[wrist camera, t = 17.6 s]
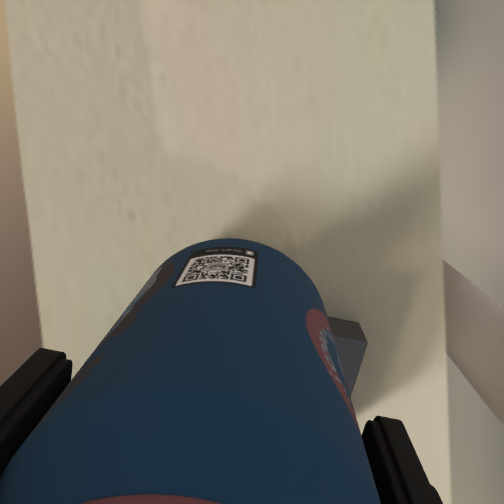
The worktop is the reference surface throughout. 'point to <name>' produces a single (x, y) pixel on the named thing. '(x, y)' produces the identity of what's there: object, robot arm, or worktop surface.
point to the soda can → (204, 397)
